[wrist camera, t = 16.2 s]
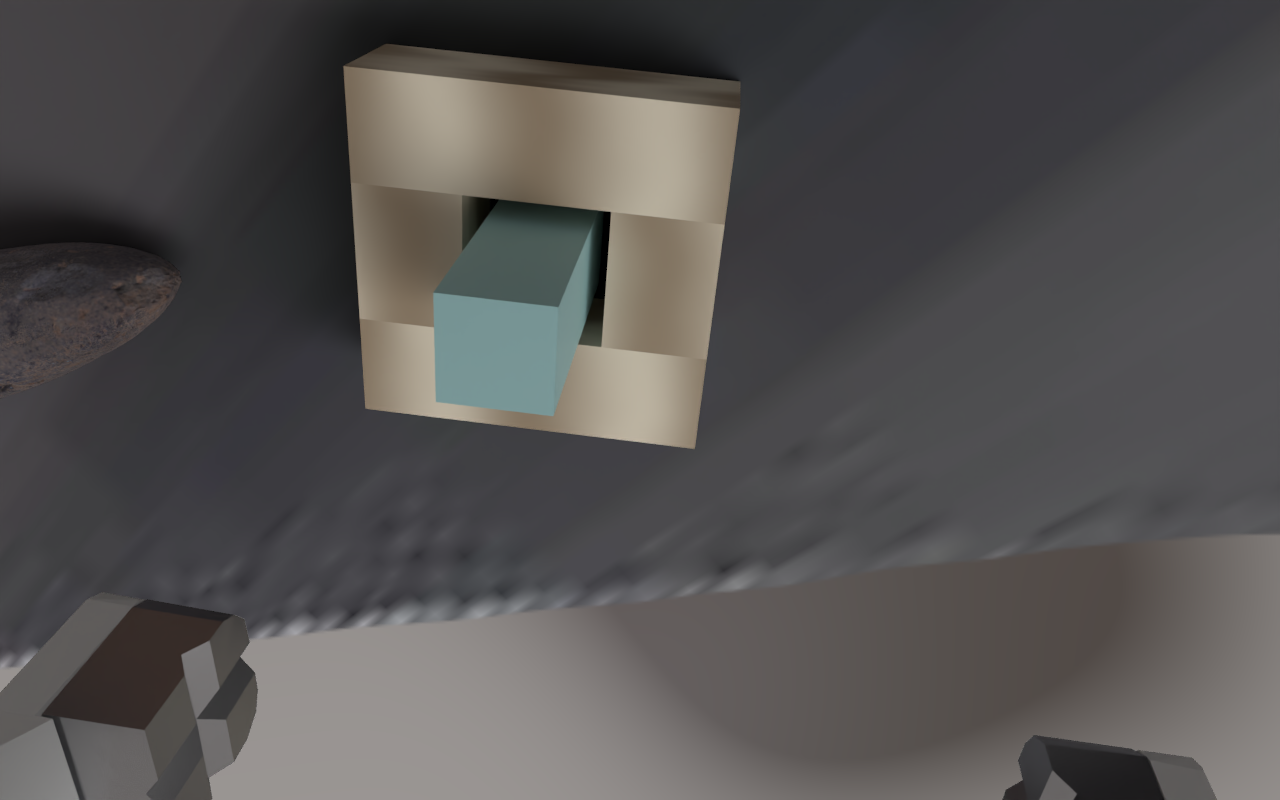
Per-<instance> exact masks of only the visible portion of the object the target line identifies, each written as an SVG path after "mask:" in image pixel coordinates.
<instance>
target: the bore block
mask: <svg viewBox="0 0 1280 800" xmlns="http://www.w3.org/2000/svg"><path fill="white" fill-rule="evenodd" d="M343 67H344V82H345V98H346V113H347V129H348V144H349V160H350V175H351V191H352V206H353V222H354V237H355V253H356V268H357V284H358V299H359V315H360V330H361V346H362V361H363V377H364V392H365V408H366V409H372V410H381V411H389V412H397V413H405V414H413V415H422V416H430V417H438V418H446V419H454V420H463V421H471V422H479V423H487V424H495V425H504V426H512V427H520V428H528V429H536V430H545V431H553V432H561V433H569V434H577V435H586V436H594V437H602V438H610V439H618V440H627V441H635V442H643V443H651V444H659V445H668V446H676V447H684V448H692V449H695V442H696V434H697V427H698V419H699V412H700V404H701V397H702V389H703V382H704V374H705V367H706V359H707V352H708V344H709V337H710V329H711V322H712V314H713V307H714V300H715V292H716V285H717V277H718V270H719V262H720V255H721V247H722V240H723V232H724V225H725V217H726V210H727V202H728V195H729V187H730V180H731V172H732V165H733V157H734V150H735V142H736V135H737V127H738V120H739V112H740V81H730V80H721V79H711V78H702V77H693V76H683V75H674V74H665V73H655V72H646V71H637V70H627V69H618V68H608V67H599V66H590V65H580V64H571V63H562V62H552V61H543V60H534V59H524V58H515V57H505V56H496V55H487V54H477V53H468V52H459V51H449V50H440V49H431V48H421V47H412V46H402V45H393V44H385V45H383V46H381V47H379V48H377V49H375V50H373V51H371V52H369V53H367V54H366V55H364V56H362V57H360V58H358V59H356V60H354V61H352V62H350V63H348V64H346V65H345V66H343ZM490 198H492V199H501V200H510V201H518V202H527V203H536V204H545V205H554V206H563V207H572V208H581V209H589V210H598V211H607V212H611V222H610V236H609V250H608V263H607V277H606V291H605V299H598V298H593V301H592V304H591V307H590V310H589V313H588V316H587V319H586V322H585V325H584V328H583V331H582V334H581V337H580V340H579V343H578V345H577V348H576V351H575V354H574V357H573V360H572V363H571V366H570V369H569V372H568V375H567V378H566V381H565V384H564V387H563V390H562V392H561V395H560V398H559V401H558V404H557V407H556V410H555V413H554V416H547V415H539V414H530V413H522V412H514V411H506V410H497V409H489V408H481V407H473V406H464V405H456V404H448V403H440V402H436V391H435V347H434V304H433V292H434V291H435V289H436V288H437V287H438V285H439V284H440V282H441V281H442V280H443V278H444V277H445V275H446V274H447V273H448V271H449V270H450V268H451V267H452V265H453V264H454V263H455V261H456V260H457V258H458V257H459V256H460V254H461V253H462V251H463V250H464V249H465V247H466V246H467V244H468V243H469V242H470V240H471V239H472V237H473V236H474V235H475V233H476V232H477V230H478V229H479V227H480V226H481V225H482V223H483V222H484V220H485V219H486V218H487V216H488V215H489V213H490Z"/></svg>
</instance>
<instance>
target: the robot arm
mask: <svg viewBox="0 0 1280 800" xmlns="http://www.w3.org/2000/svg"><path fill="white" fill-rule="evenodd" d="M249 643H250V641H249V637H248V632H247V628H246V624H245V619H243V618H241V617H238V616H236V615H232V614H226V613H221V612H215V611H210V610H204V609H198V608H193V607H187V606H182V605H176V604H170V603H165V602H159V601H154V600H148V599H147V600H144V599H138V598H132V597H127V596H121V595H115V594H109V593H104V592H102V593H100V594H98V595H96V596H94V597H91V598H89V599H87V600H86V601H85V602H84V603H83V604H82V605H81V606H80V607H79V608H78V609H77V610H76V611H75V613H74V614H73V615H72V616H71V617H70V618H69V619H68V620H67V621H66V622H65V623H64V624H63V626H62V627H61V628H60V629H59V630H58V631H57V632H56V633H55V634H54V635H53V636H52V637H51V638H50V640H49V641H48V642H47V643H46V644H45V645H44V646H43V647H42V648H41V649H40V650H39V651H38V653H37V654H36V655H35V656H34V657H33V658H32V659H31V660H30V661H29V662H28V663H27V664H26V665H25V667H24V668H23V669H22V670H21V671H20V672H19V673H18V674H17V675H16V676H15V677H14V678H13V680H12V681H11V682H10V683H9V684H8V685H7V686H6V687H5V688H4V689H3V690H2V691H1V692H0V800H212V794H211V788H210V782H209V777H211V776H212V775H214V774H215V773H217V772H219V771H220V770H222V769H224V768H225V767H227V766H228V765H230V764H232V763H233V762H234V761H235V759H236V758H237V756H238V754H239V752H240V751H241V749H242V747H243V745H244V744H245V742H246V740H247V738H248V735H249V732H250V729H251V726H252V722H253V719H254V716H255V713H256V707H257V693H258V689H257V682H256V676H255V672H254V671H253V670H252V669H251V668H250V667H249V666H248V665H247V664H246V663H245V662H244V661H243V660H242V659H241V657H240V656H241V655H242V653H243V652H244V650H245V649H246V647H247V646H248V644H249ZM1018 762H1019V766H1020V771H1021V775H1022V779H1023V780H1022V781H1020V782H1019V783H1017V784H1015V785H1014V786H1012V787H1010V788H1008V789H1007V790H1006V791H1005V794H1004V797H1003V799H1002V800H1217V799H1216V796H1215V794H1214V792H1213V790H1212V788H1211V786H1210V784H1209V782H1208V779H1207V777H1206V775H1205V773H1204V771H1203V768H1202V767H1201V766H1200V765H1199V764H1198V763H1197V762H1196V761H1195V760H1194V759H1193V758H1190V757H1183V756H1176V755H1169V754H1162V753H1155V752H1148V751H1141V750H1138V751H1135V750H1133V749H1129V748H1122V747H1115V746H1108V745H1101V744H1093V743H1086V742H1079V741H1072V740H1065V739H1058V738H1051V737H1044V736H1037V735H1034V736H1033V737H1031V738H1030V739H1029V740H1028V741H1027V742H1026V743H1025V745H1024V747H1023V750H1022V752H1021V754H1020V757H1019V759H1018Z"/></svg>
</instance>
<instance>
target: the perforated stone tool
mask: <svg viewBox="0 0 1280 800" xmlns="http://www.w3.org/2000/svg"><path fill="white" fill-rule="evenodd" d="M180 277H181V276H180V271H179V270H177V268H176V267H175V266H174V265H172V264H171V263H170V262H168V261H166V260H165V259H163V258H161V257H160V256H158V255H155V254H151V253H148V252H145V251H141V250H138V249H135V248H130V247H124V246H118V245H111V244H103V243H84V242H77V243H76V242H71V243H52V244H40V245H30V246H22V247H14V248H8V249H0V398H3V397H6V396H9V395H13V394H16V393H19V392H22V391H25V390H28V389H31V388H33V387H36V386H39V385H41V384H44V383H47V382H49V381H51V380H54V379H56V378H59V377H61V376H63V375H66V374H68V373H70V372H72V371H74V370H76V369H78V368H80V367H82V366H84V365H86V364H88V363H90V362H92V361H93V360H95V359H97V358H98V357H100V356H102V355H104V354H107V353H109V352H111V351H113V350H115V349H116V348H118V347H119V346H121V345H123V344H125V343H126V342H128V341H129V340H131V339H132V338H133V337H135V336H137V335H138V334H139V333H140V332H141V331H143V330H144V329H145V328H146V327H148V326H149V325H150V324H151V323H152V322H154V321H155V320H156V319H157V318H158V317H159V316H160V315H161V314H162V313H163V312H164V311H165V309H166V308H167V307H168V306H169V304H170V303H171V301H172V300H173V299H174V297H175V295H176V292H177V291H178V288H179V286H180V283H181V282H182V280H181V278H180Z"/></svg>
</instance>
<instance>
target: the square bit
mask: <svg viewBox="0 0 1280 800" xmlns="http://www.w3.org/2000/svg"><path fill="white" fill-rule="evenodd" d="M603 218H604V211H598V210H589V209H581V208H572V207H563V206H554V205H545V204H536V203H527V202H518V201H510V200H501V199H499V201H498V202H497V204H496V205H495V206H494V208H493V209H492V211H491V212H490V213H489V215H488V216H487V218H486V219H485V220H484V222H483V223H482V225H481V226H480V227H479V229H478V230H477V232H476V233H475V235H474V236H473V237H472V239H471V240H470V242H469V243H468V244H467V246H466V247H465V249H464V250H463V251H462V253H461V254H460V256H459V257H458V258H457V260H456V261H455V263H454V264H453V265H452V267H451V268H450V270H449V271H448V273H447V274H446V275H445V277H444V278H443V280H442V281H441V282H440V284H439V285H438V287H437V288H436V289H435V291H434V292H433V304H434V347H435V391H436V402H440V403H448V404H456V405H464V406H473V407H481V408H489V409H497V410H506V411H514V412H522V413H530V414H539V415H547V416H554V413H555V410H556V407H557V404H558V401H559V398H560V395H561V392H562V390H563V387H564V384H565V381H566V378H567V375H568V372H569V369H570V366H571V363H572V360H573V357H574V354H575V351H576V348H577V345H578V343H579V340H580V337H581V334H582V331H583V328H584V325H585V322H586V319H587V316H588V313H589V310H590V307H591V304H592V301H593V298H594V295H595V293H596V290H597V287H598V284H599V276H600V262H601V247H602V233H603Z"/></svg>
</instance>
